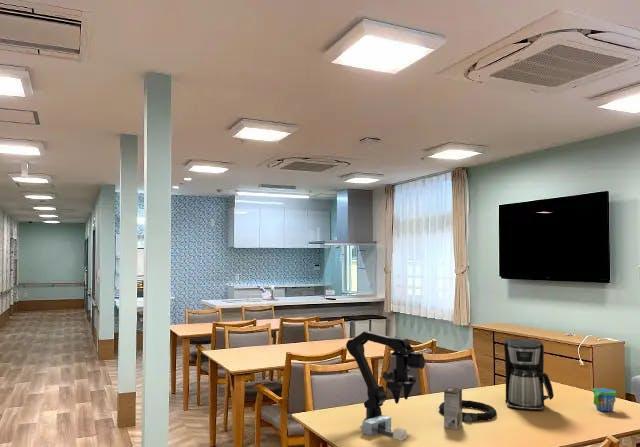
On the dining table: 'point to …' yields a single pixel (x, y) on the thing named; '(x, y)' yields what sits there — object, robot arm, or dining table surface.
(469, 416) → the cable lock
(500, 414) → the dining table surface
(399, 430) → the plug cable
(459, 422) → the coffee box
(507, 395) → the coffee maker
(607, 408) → the snack cup
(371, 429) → the motor housing
